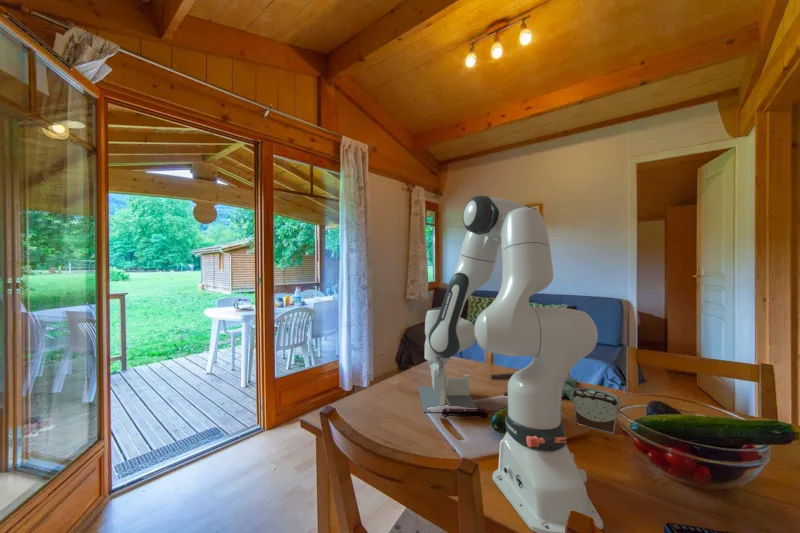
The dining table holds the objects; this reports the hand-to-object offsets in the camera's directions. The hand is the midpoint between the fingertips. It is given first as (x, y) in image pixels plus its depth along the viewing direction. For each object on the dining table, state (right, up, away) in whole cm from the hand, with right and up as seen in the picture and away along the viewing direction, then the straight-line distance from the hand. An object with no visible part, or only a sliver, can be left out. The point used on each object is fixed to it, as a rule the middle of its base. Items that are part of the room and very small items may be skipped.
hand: (436, 392), depth 109 cm
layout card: (+4, -4, +4) cm, 6 cm away
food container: (+46, -4, -15) cm, 48 cm away
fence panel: (+3, -3, +2) cm, 4 cm away
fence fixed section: (+8, -4, +6) cm, 11 cm away
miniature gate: (+40, -4, +13) cm, 42 cm away
